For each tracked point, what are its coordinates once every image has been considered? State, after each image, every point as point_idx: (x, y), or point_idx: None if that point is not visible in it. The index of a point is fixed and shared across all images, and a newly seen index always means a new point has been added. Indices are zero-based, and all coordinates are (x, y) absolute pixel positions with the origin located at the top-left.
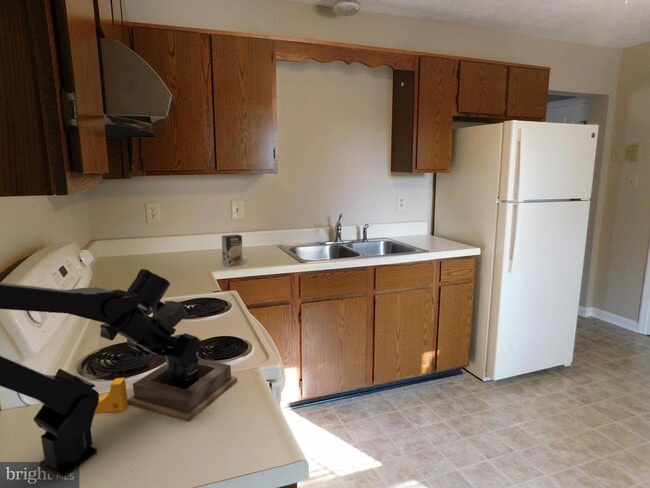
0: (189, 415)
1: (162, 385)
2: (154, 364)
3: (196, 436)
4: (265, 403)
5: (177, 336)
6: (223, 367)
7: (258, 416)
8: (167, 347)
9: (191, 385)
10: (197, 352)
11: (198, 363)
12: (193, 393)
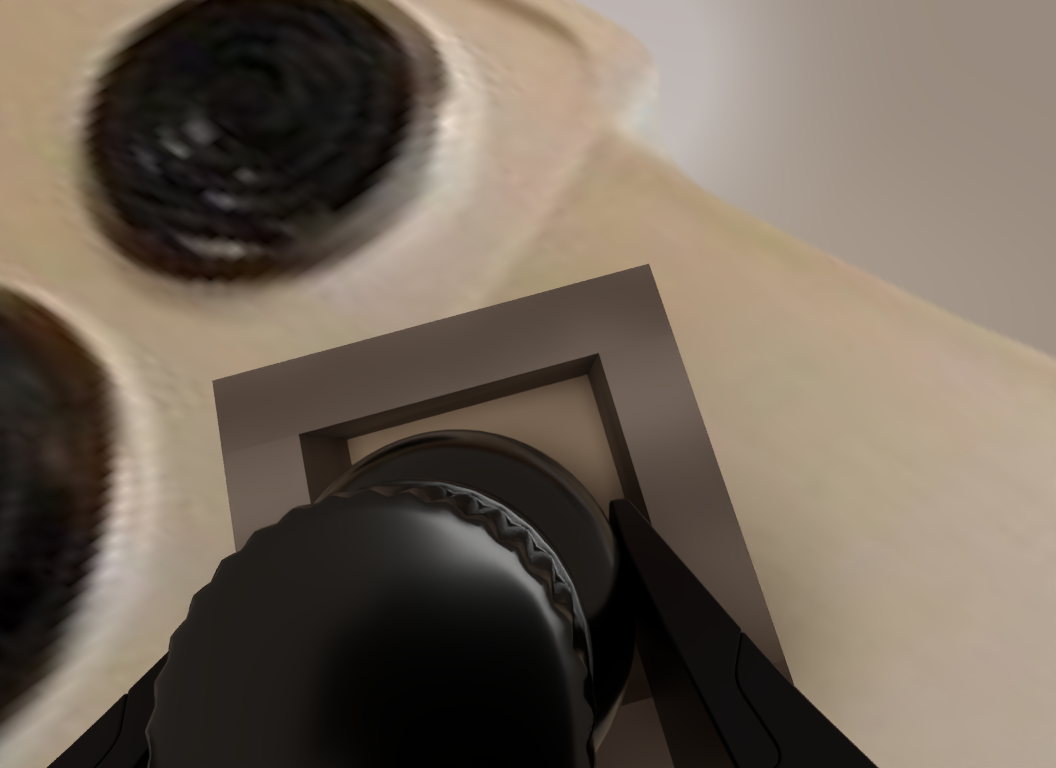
0: None
1: None
2: (75, 457)
3: (926, 753)
4: (931, 333)
5: (246, 726)
6: (637, 313)
7: (1004, 432)
8: None
9: None
10: (540, 451)
11: (440, 386)
12: (789, 677)
